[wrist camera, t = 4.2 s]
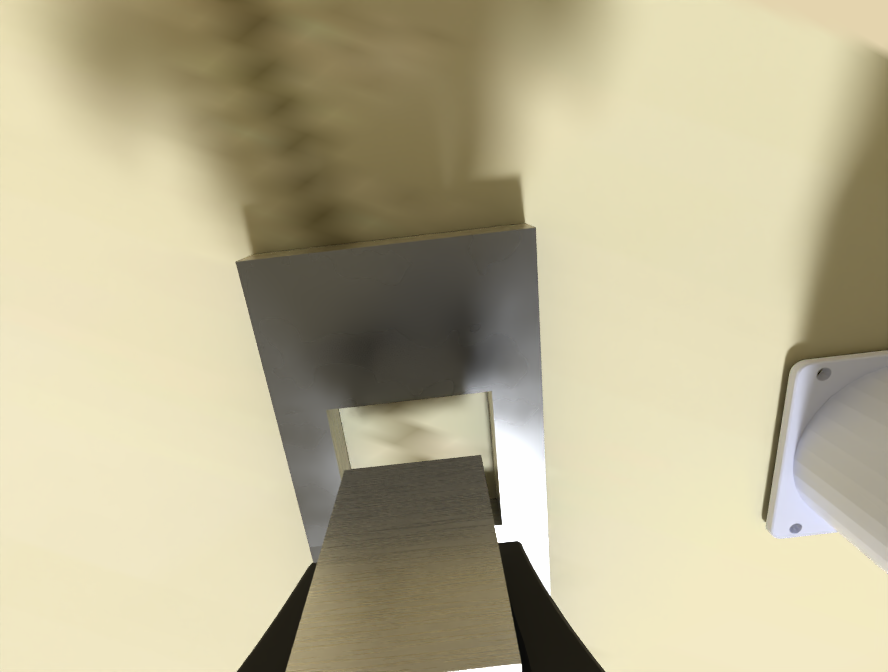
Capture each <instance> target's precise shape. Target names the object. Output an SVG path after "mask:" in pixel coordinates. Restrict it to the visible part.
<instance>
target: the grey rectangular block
mask: <svg viewBox="0 0 888 672" xmlns="http://www.w3.org/2000/svg"><path fill="white" fill-rule="evenodd" d="M285 672H522V664H521V659H520V654H519V648H518V643H517V638H516V633H515V628H514V623H513V617H512V612H511V607H510V602H509V597H508V592H507V586H506V581H505V576H504V571H503V566H502V561H501V555H500V550H499V545H498V540H497V535H496V530H495V524H494V519H493V514H492V509H491V504H490V499H489V493H488V488H487V483H486V478H485V473H484V468H483V462H482V457H481V455H477V456H468V457H459V458H450V459H441V460H432V461H422V462H413V463H404V464H395V465H386V466H377V467H368V468H359V469H350V470H344V473H343V476H342V480H341V483H340V487H339V490H338V494H337V497H336V500H335V504H334V507H333V511H332V514H331V517H330V521H329V524H328V528H327V531H326V535H325V538H324V541H323V545H322V548H321V552H320V555H319V558H318V562H317V565H316V569H315V572H314V576H313V579H312V582H311V586H310V589H309V593H308V596H307V599H306V603H305V606H304V610H303V613H302V617H301V620H300V623H299V627H298V630H297V634H296V637H295V641H294V644H293V647H292V651H291V654H290V658H289V661H288V664H287V668H286V671H285Z"/></svg>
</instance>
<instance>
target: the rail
mask: <svg viewBox="0 0 888 672" xmlns="http://www.w3.org/2000/svg"><path fill="white" fill-rule="evenodd" d="M236 265H237V269H238V273H239V277H240V281H241V284H242V288H243V292H244V296H245V300H246V304H247V308H248V311H249V315H250V319H251V323H252V327H253V331H254V335H255V339H256V342H257V346H258V350H259V354H260V358H261V362H262V366H263V369H264V373H265V377H266V381H267V385H268V389H269V393H270V396H271V400H272V404H273V408H274V412H275V416H276V420H277V423H278V427H279V431H280V435H281V439H282V443H283V447H284V450H285V454H286V458H287V462H288V466H289V470H290V474H291V478H292V481H293V485H294V489H295V493H296V497H297V501H298V505H299V508H300V512H301V516H302V520H303V524H304V528H305V532H306V535H307V539H308V543H309V547H310V551H311V555H312V559H313V562H314V563H317V562H318V558H319V555H320V552H321V548H322V545H323V541H324V538H325V535H326V531H327V528H328V524H329V521H330V517H331V514H332V511H333V507H334V504H335V500H336V497H337V494H338V490H339V487H340V483H341V480H342V476H343V473H344V470H350V469H351V468H350V463H349V458H348V453H347V449H346V444H345V439H344V434H343V429H342V424H341V420H340V415H339V410H338V409H339V408H348V407H356V406H365V405H374V404H383V403H391V402H400V401H409V400H418V399H426V398H435V397H444V396H453V395H461V394H470V393H479V392H488V402H489V414H490V426H491V437H492V449H493V461H494V473H495V485H496V497H497V499H490V504H491V509H492V514H493V519H494V524H495V530H496V535H497V540H498V543H500V542H509V541H519V542H520V543H522V545H523V547H524V549H525V552H526V554H527V556H528V558H529V560H530V562H531V564H532V566H533V567H534V569H535V571H536V573H537V575H538V576H539V578H540V580H541V581H542V583H543V585H544V587H545V588H546V590H547V591H548V593H549V595H550V570H549V546H548V521H547V496H546V471H545V446H544V421H543V397H542V372H541V347H540V322H539V297H538V272H537V248H536V227H533V226H531V225H528V224H526V223H523V224H514V225H505V226H497V227H488V228H479V229H470V230H461V231H453V232H444V233H435V234H426V235H418V236H409V237H400V238H391V239H383V240H374V241H365V242H356V243H347V244H339V245H330V246H321V247H312V248H304V249H295V250H286V251H277V252H268V253H260V254H253V255H251V256H248V257H246V258H243V259H241V260H239V261H236ZM550 596H551V595H550Z"/></svg>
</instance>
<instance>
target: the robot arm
mask: <svg viewBox="0 0 888 672" xmlns="http://www.w3.org/2000/svg"><path fill="white" fill-rule="evenodd" d="M821 369H822V371H821V373H820V374H819V375H817V373H818V371H820V370H821ZM766 529H767V530H768V532H769V533H770V534H771V535H772V536H773V537H775V538H790V537H799V536H808V535H817V534H825V533H834V532H839V533H840V534H841V535H842V536H843V537H845V538H846V539H847V540H848V541H849V542H850V543H852V544H853V545H854V546H855V547H856V548H858V549H859V550H860V551H861V552H862V553H863V554H865V555H866V556H867V557H868V558H869V559H871V560H872V561H873V562H874V563H875V564H876V565H878V566H879V567H880V568H881V569H882V570H883V571H885V572H886V573H887V574H888V350H885V351H876V352H867V353H859V354H850V355H841V356H832V357H824V358H815V359H806V360H802V361H799V362H797V363H796V364H795V365H794V366H793V367H792V368H791V370H790V373H789V379H788V385H787V392H786V398H785V405H784V411H783V418H782V424H781V430H780V437H779V443H778V450H777V456H776V463H775V469H774V476H773V482H772V488H771V495H770V501H769V508H768V514H767V521H766ZM498 545H499V550H500V555H501V561H502V566H503V571H504V576H505V581H506V586H507V592H508V597H509V602H510V607H511V612H512V617H513V623H514V628H515V633H516V638H517V643H518V648H519V654H520V659H521V664H522V672H605V671H604V669H603V668H602V667H601V666H600V664H599V663H598V662H597V661H596V659H595V658H594V657H593V656H592V654H591V653H590V652H589V650H588V649H587V648H586V646H585V645H584V644H583V642H582V641H581V640H580V638H579V637H578V636H577V634H576V633H575V632H574V630H573V629H572V627H571V626H570V625H569V623H568V622H567V620H566V619H565V617H564V616H563V614H562V613H561V611H560V610H559V608H558V607H557V605H556V604H555V602H554V601H553V599H552V598H551V596H550V595H549V593H548V591H547V590H546V588H545V587H544V585H543V583H542V581H541V580H540V578H539V576H538V575H537V573H536V571H535V569H534V567H533V566H532V564H531V562H530V560H529V558H528V556H527V554H526V552H525V549H524V547H523V545H522V543H520V542H519V541H509V542H500V543H498ZM316 565H317V563H312V564H311V565H310V566H309V567H308V569H307V570H306V572H305V573H304V575H303V577H302V578H301V580H300V581H299V583H298V584H297V586H296V587H295V589H294V591H293V592H292V594H291V595H290V597H289V598H288V600H287V601H286V603H285V604H284V606H283V607H282V609H281V610H280V612H279V613H278V615H277V616H276V618H275V619H274V621H273V622H272V624H271V625H270V627H269V628H268V629H267V631H266V632H265V634H264V635H263V637H262V638H261V640H260V641H259V642H258V644H257V645H256V647H255V648H254V649H253V651H252V652H251V654H250V655H249V656H248V657H247V659H246V660H245V661H244V663H243V664H242V665H241V667H240V668H239V669H238V671H237V672H285V671H286V668H287V664H288V661H289V658H290V654H291V651H292V647H293V644H294V641H295V637H296V634H297V630H298V627H299V623H300V620H301V617H302V613H303V610H304V606H305V603H306V599H307V596H308V593H309V589H310V586H311V582H312V579H313V576H314V572H315V569H316Z"/></svg>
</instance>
